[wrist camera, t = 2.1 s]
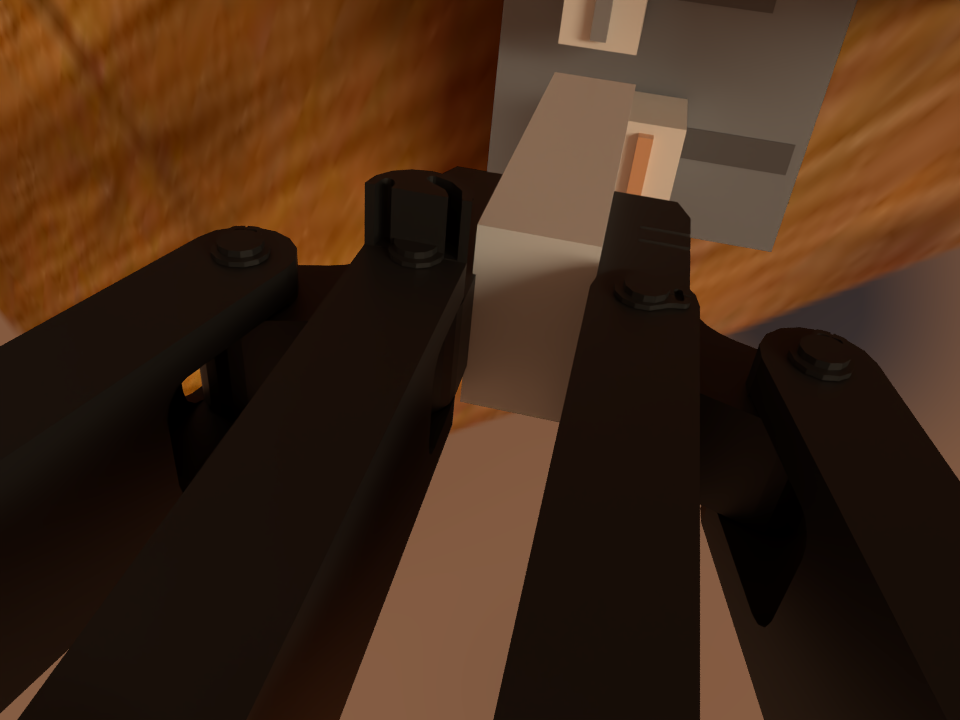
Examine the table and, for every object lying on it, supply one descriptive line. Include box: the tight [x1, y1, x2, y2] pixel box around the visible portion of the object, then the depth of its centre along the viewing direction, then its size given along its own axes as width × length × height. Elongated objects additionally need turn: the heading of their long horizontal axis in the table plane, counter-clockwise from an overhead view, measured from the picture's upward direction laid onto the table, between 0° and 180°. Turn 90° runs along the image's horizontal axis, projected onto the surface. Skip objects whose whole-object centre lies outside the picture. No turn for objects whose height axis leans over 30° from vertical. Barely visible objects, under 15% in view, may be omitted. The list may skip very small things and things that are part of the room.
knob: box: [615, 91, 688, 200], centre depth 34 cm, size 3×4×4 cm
